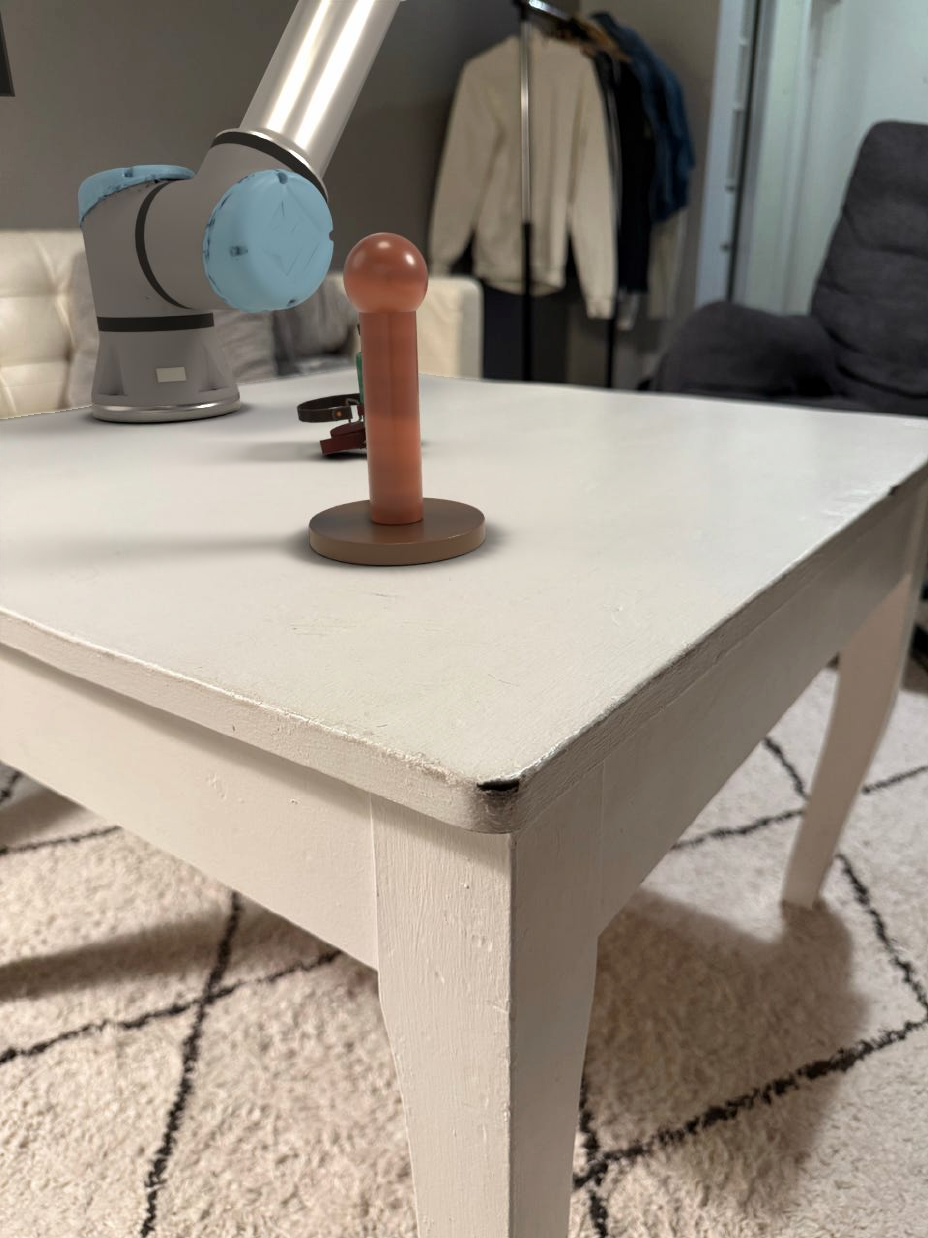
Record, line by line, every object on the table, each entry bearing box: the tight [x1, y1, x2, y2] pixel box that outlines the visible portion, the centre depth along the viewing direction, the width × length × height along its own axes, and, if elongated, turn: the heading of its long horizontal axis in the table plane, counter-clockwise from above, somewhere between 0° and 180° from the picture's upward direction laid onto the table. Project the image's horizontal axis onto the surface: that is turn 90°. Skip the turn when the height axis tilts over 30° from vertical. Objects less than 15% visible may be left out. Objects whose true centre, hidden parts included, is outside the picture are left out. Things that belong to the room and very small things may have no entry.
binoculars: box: [296, 323, 367, 456], centre depth 75 cm, size 9×11×10 cm
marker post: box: [308, 231, 486, 566], centre depth 49 cm, size 10×10×16 cm
